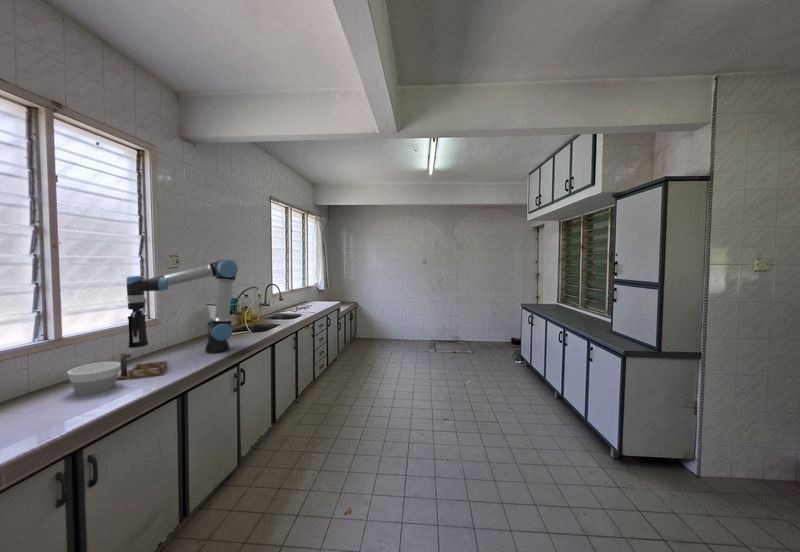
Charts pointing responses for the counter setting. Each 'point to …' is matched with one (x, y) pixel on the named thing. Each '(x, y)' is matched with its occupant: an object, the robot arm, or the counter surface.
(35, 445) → the counter surface
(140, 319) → the container
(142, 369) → the hook shelf
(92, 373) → the bowl
